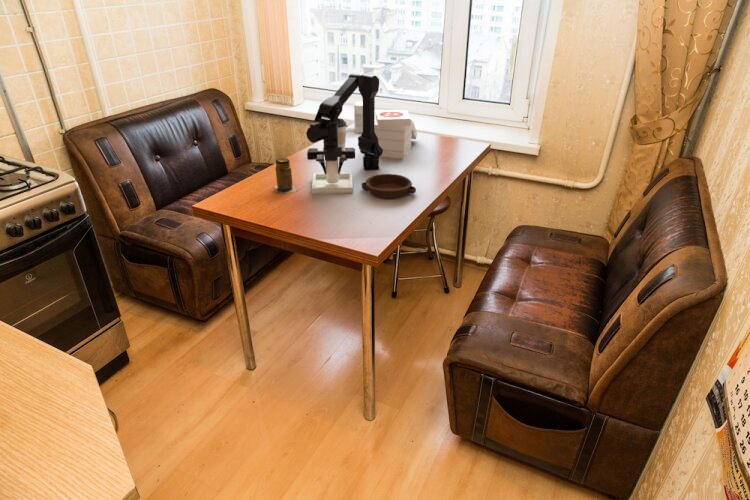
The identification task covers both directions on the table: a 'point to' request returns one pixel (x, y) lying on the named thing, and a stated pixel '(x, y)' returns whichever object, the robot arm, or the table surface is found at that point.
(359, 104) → the supplement box
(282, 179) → the condiment
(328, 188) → the tray
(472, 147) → the table surface
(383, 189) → the dish
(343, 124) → the coffee cup
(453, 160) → the table surface
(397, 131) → the pizza boxes
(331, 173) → the jar
